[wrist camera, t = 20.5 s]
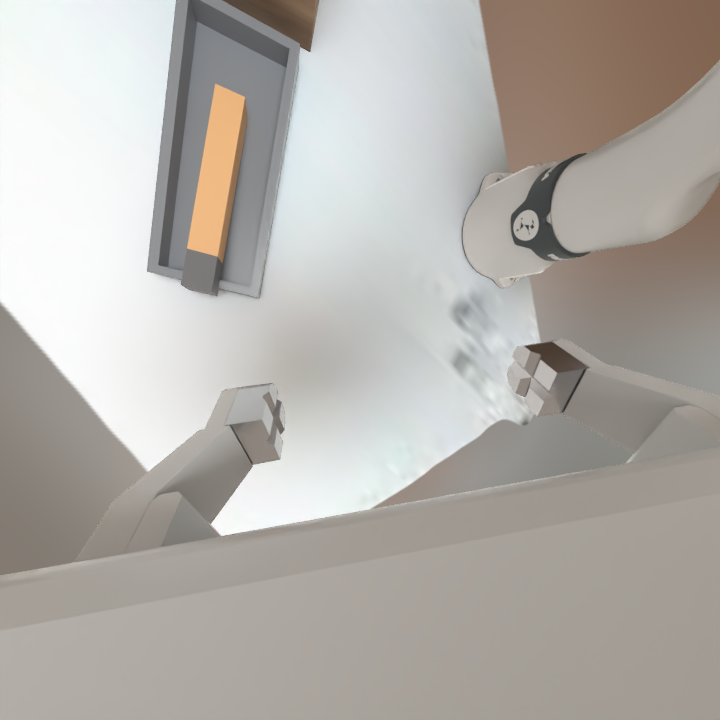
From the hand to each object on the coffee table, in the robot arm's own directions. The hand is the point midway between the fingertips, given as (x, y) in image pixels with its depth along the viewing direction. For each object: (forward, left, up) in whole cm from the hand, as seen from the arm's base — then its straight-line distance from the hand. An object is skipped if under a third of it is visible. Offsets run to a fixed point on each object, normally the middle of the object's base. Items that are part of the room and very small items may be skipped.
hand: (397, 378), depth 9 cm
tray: (+3, -21, -33) cm, 39 cm away
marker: (+5, -17, -30) cm, 35 cm away
